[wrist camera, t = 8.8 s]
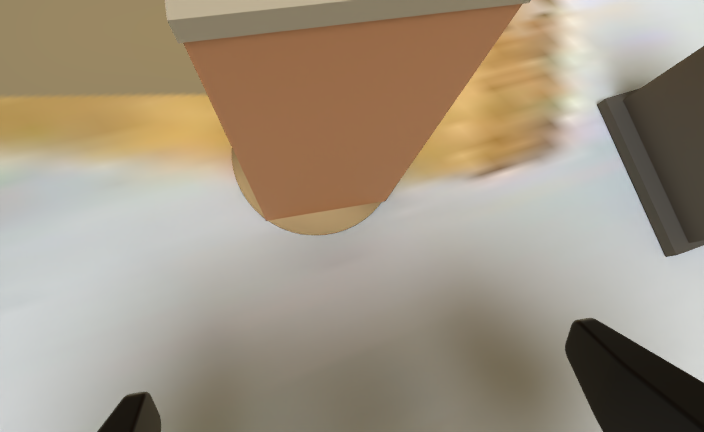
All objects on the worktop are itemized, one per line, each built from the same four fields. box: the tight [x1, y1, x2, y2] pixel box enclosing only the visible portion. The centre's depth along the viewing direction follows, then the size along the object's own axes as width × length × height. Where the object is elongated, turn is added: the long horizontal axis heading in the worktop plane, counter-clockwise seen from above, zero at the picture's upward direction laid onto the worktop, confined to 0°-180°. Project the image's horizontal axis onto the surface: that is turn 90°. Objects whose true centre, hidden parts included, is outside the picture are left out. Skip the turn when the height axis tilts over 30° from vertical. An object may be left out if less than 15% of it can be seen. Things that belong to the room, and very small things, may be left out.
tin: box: [165, 0, 531, 221], centre depth 13 cm, size 5×5×13 cm
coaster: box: [232, 148, 381, 235], centre depth 20 cm, size 7×7×1 cm
